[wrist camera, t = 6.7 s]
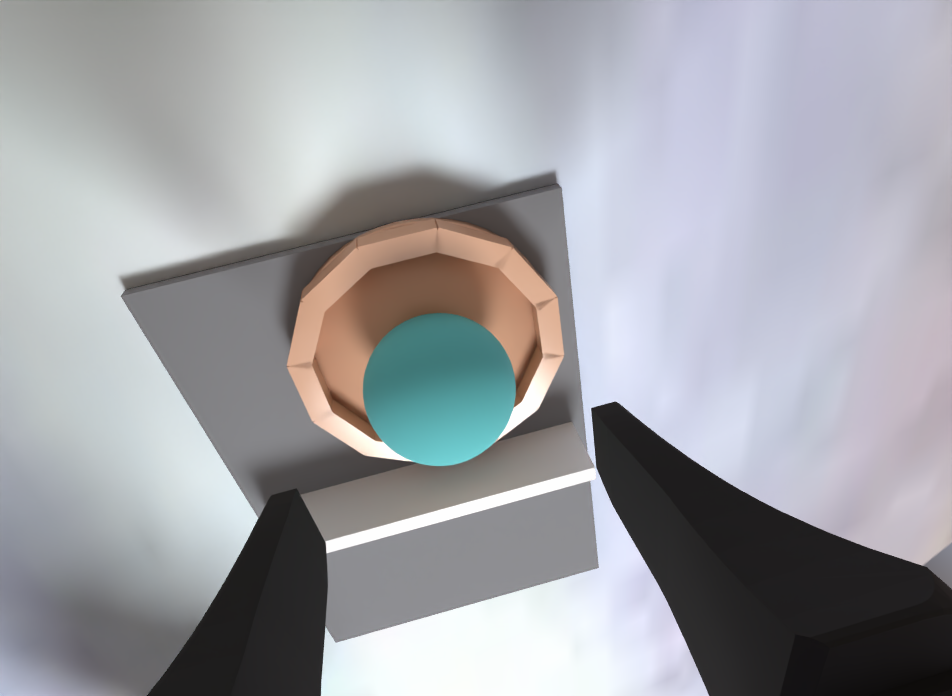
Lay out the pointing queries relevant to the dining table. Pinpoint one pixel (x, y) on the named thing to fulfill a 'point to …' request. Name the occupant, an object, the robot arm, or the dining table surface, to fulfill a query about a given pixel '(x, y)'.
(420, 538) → the mat
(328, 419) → the saucer
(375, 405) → the ball
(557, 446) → the wall
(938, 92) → the dining table surface
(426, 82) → the dining table surface
